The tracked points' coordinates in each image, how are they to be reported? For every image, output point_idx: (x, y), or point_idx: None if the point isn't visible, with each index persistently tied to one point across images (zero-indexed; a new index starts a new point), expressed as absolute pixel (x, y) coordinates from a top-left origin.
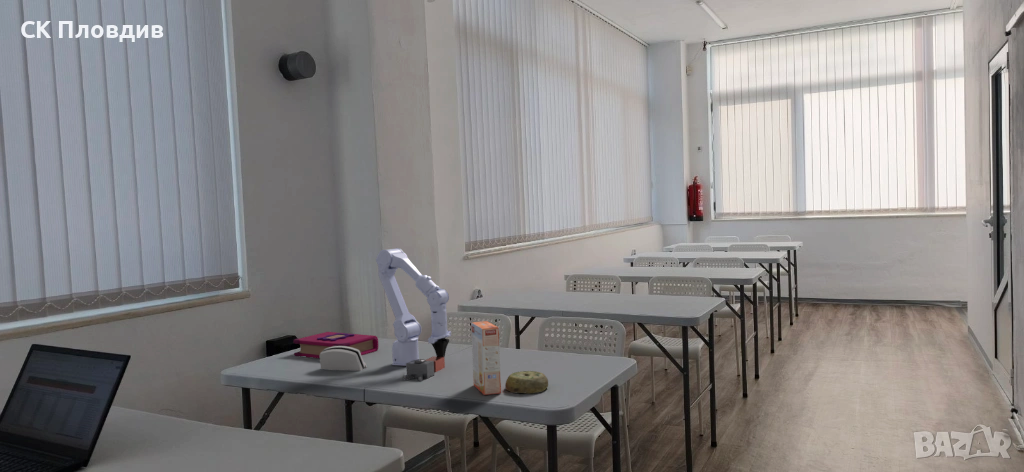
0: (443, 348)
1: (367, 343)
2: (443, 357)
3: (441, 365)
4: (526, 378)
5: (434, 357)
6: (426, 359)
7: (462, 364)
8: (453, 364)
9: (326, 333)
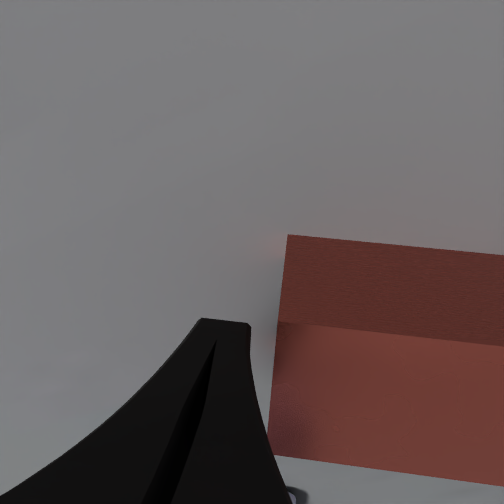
0: (240, 455)
1: None
2: (310, 323)
3: (382, 268)
4: None
5: (334, 427)
6: (465, 480)
7: (69, 62)
8: (112, 188)
9: None
